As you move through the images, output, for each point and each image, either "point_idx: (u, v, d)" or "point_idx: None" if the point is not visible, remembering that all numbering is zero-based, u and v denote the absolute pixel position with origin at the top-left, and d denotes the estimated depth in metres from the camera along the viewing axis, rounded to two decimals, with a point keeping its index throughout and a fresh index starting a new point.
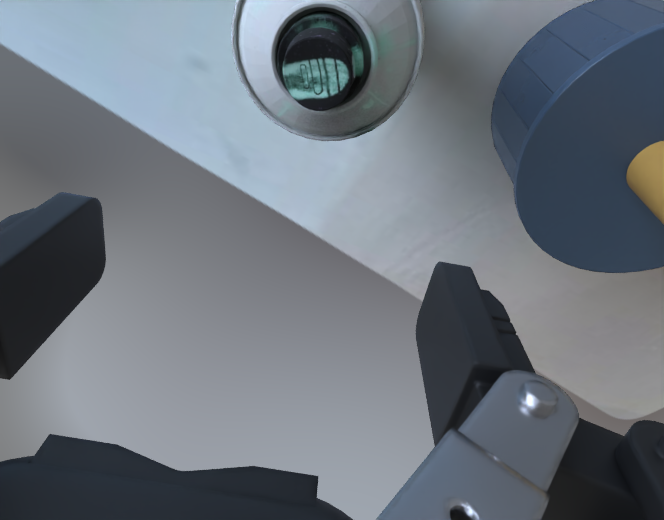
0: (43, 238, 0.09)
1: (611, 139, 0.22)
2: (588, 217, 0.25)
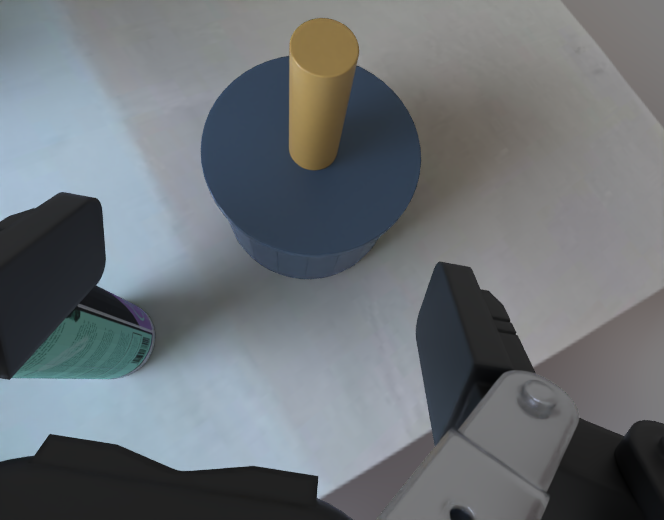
0: (43, 238, 0.09)
1: (271, 174, 0.28)
2: (340, 202, 0.28)
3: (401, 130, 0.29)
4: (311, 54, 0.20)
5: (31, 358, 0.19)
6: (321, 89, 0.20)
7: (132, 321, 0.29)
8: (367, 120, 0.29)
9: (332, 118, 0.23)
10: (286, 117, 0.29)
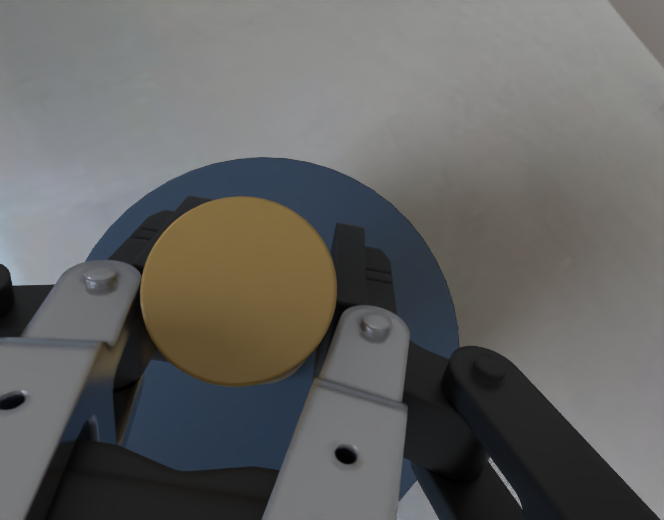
0: None
1: (187, 395, 0.15)
2: None
3: (424, 296, 0.17)
4: (201, 312, 0.07)
5: None
6: None
7: None
8: None
9: None
10: None
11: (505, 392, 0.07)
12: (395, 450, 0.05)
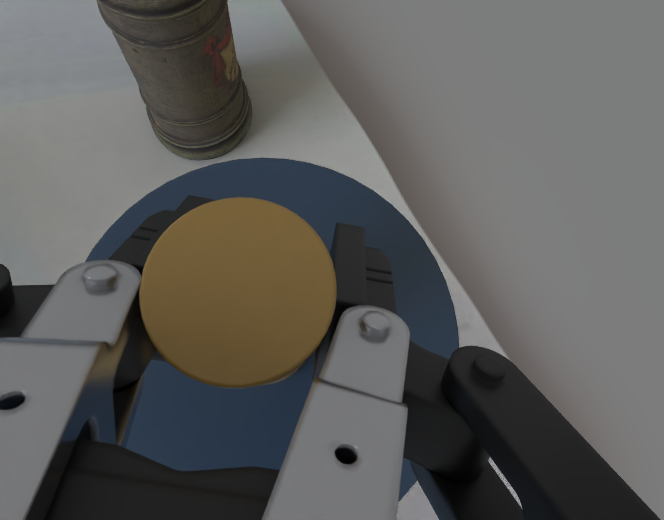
0: None
1: (187, 396, 0.15)
2: None
3: (424, 297, 0.17)
4: (200, 313, 0.07)
5: None
6: None
7: None
8: None
9: (283, 378, 0.10)
10: None
11: (505, 392, 0.07)
12: (395, 450, 0.05)
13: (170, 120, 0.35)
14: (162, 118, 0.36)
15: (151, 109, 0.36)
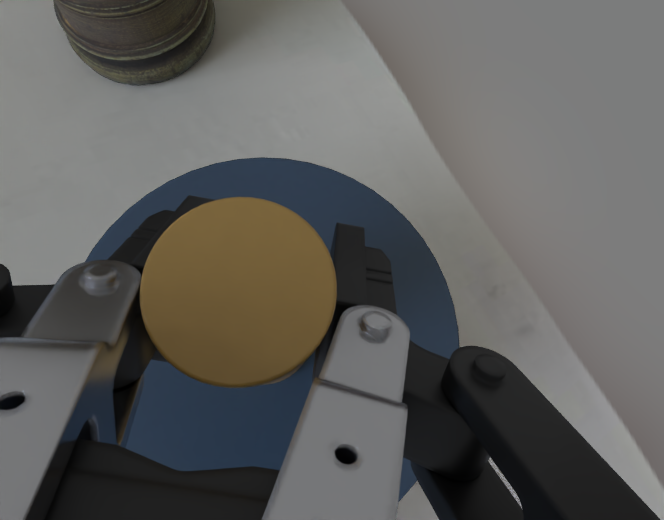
0: None
1: (187, 396, 0.15)
2: None
3: (425, 296, 0.17)
4: (200, 313, 0.07)
5: None
6: None
7: None
8: None
9: None
10: None
11: (505, 392, 0.07)
12: (395, 450, 0.05)
13: (77, 6, 0.23)
14: (65, 2, 0.23)
15: None
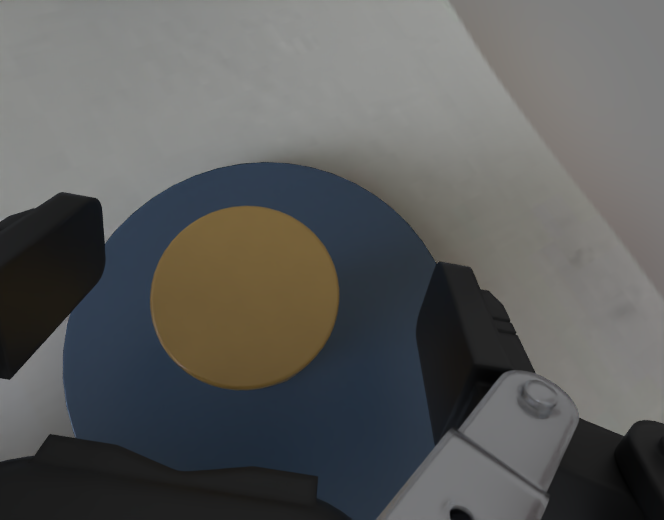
0: (43, 238, 0.09)
1: (191, 396, 0.15)
2: (315, 447, 0.15)
3: None
4: (208, 319, 0.07)
5: None
6: None
7: None
8: (365, 282, 0.17)
9: None
10: None
11: None
12: None
13: None
14: None
15: None
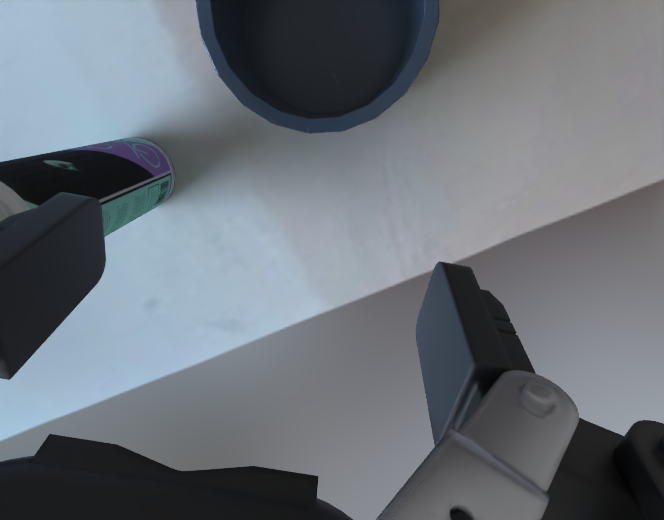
0: (43, 238, 0.09)
1: None
2: None
3: None
4: None
5: None
6: None
7: (147, 177, 0.31)
8: None
9: None
10: None
11: None
12: None
13: None
14: None
15: None
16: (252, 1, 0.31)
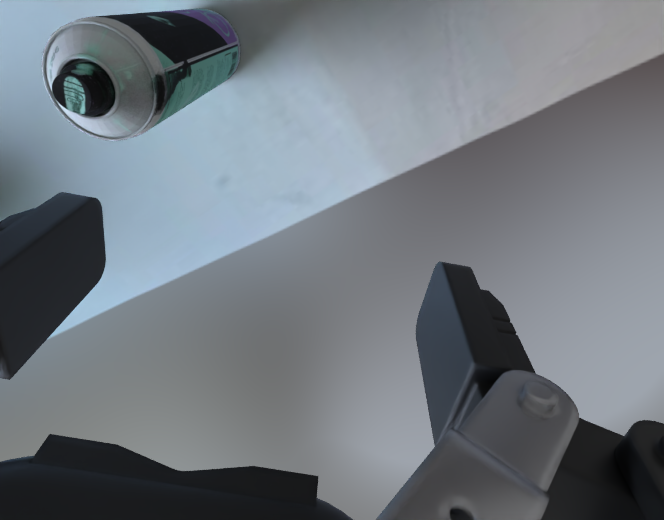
0: (43, 238, 0.09)
1: None
2: None
3: None
4: None
5: (170, 114, 0.25)
6: None
7: (222, 44, 0.32)
8: None
9: None
10: None
11: None
12: None
13: None
14: None
15: None
16: None
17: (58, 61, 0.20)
